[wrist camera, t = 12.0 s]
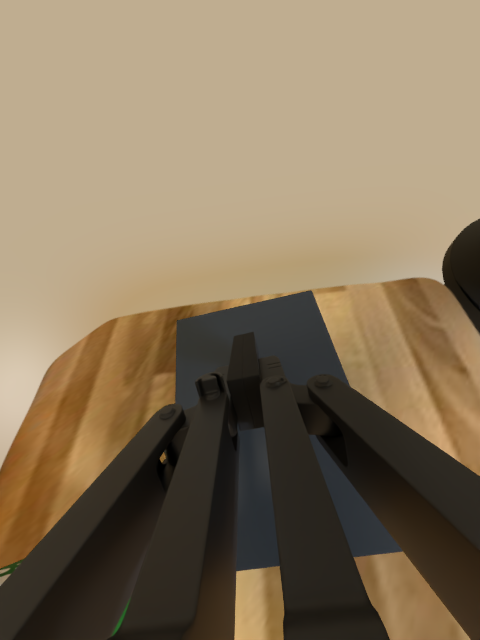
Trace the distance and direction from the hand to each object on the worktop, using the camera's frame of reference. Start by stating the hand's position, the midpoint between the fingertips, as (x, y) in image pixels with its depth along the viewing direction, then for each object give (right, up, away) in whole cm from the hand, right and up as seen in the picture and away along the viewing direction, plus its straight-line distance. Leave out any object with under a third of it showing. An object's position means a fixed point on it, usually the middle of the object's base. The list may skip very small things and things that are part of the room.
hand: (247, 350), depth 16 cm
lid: (+1, -4, 0) cm, 4 cm away
